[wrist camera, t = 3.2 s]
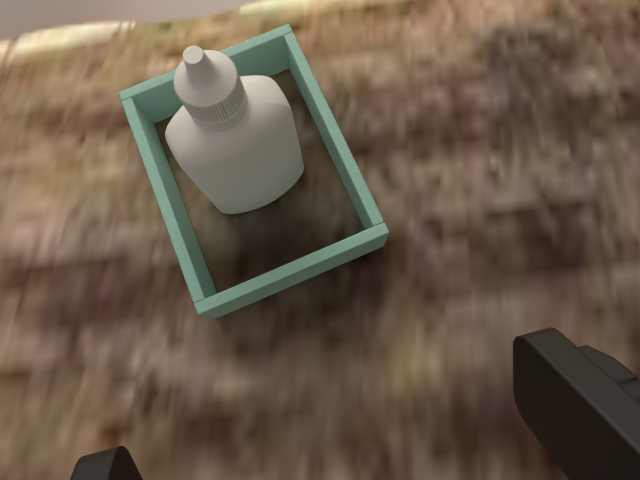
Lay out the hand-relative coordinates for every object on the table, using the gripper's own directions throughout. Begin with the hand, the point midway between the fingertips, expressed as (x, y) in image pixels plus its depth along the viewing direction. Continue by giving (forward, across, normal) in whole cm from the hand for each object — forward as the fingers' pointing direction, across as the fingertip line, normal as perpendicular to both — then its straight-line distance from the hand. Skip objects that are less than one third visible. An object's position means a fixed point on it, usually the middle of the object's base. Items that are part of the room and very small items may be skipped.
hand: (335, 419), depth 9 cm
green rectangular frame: (+20, -1, 0) cm, 20 cm away
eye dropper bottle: (+20, 0, 0) cm, 20 cm away
